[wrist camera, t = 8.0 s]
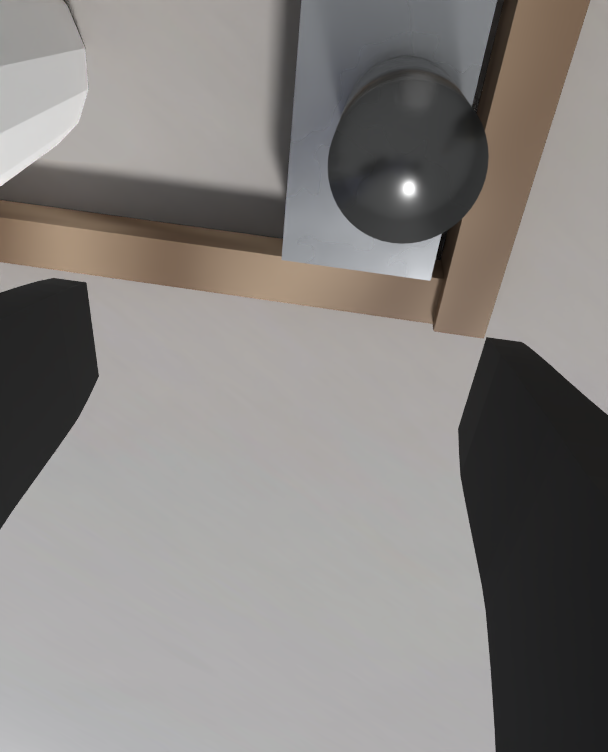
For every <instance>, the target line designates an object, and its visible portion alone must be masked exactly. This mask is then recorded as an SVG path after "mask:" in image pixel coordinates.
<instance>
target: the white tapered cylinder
mask: <svg viewBox="0 0 608 752" xmlns="http://www.w3.org/2000/svg"><path fill="white" fill-rule="evenodd" d="M88 90H89V86H88V74H87V63H86V51H85V46H84V44H83V42H82V39H81V37H80V34H79V32H78V30H77V27H76V25H75V22H74V20H73V18H72V15H71V13H70V10H69V8H68V6H67V4H66V3H65V2H64V1H63V0H0V186H2V185H3V184H4V183H6V182H7V181H9V180H10V179H11V178H13V177H14V176H15V175H17V174H18V173H19V172H21V171H22V170H24V169H25V168H26V167H28V166H29V165H30V164H32V163H33V162H35V161H36V160H37V159H39V158H40V157H41V156H43V155H44V154H45V153H47V152H48V151H50V150H51V149H52V148H54V147H55V146H56V145H58V144H59V143H60V142H61V141H62V140H63V139H64V138H65V136H66V135H67V134H68V133H69V132H70V131H71V130H72V129H73V128H74V127H75V126H76V125H77V124H78V123H79V120H80V117H81V114H82V110H83V107H84V103H85V100H86V97H87V93H88Z"/></svg>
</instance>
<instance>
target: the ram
mask: <svg viewBox="0 0 608 752" xmlns="http://www.w3.org/2000/svg"><path fill="white" fill-rule="evenodd" d="M496 3H497V0H301V13H300V26H299V39H298V52H297V65H296V78H295V91H294V104H293V117H292V130H291V143H290V156H289V169H288V182H287V195H286V208H285V221H284V234H283V246H282V259H281V260H285V261H292V262H299V263H306V264H314V265H321V266H328V267H335V268H342V269H349V270H357V271H364V272H371V273H378V274H385V275H393V276H400V277H407V278H414V279H421V280H428V281H430V280H431V276H432V272H433V268H434V263H435V259H436V255H437V251H438V247H439V242H440V238H441V234H442V233H444V232H445V231H447V230H449V229H450V228H451V227H453V226H454V225H455V224H457V223H458V222H459V221H460V220H461V219H462V218H463V217H464V216H465V215H466V214H467V213H468V211H469V210H470V209H471V208H472V206H473V205H474V203H475V202H476V200H477V198H478V196H479V194H480V192H481V190H482V188H483V185H484V182H485V179H486V174H487V170H488V159H489V153H488V143H487V138H486V134H485V131H484V128H483V125H482V123H481V121H480V119H479V117H478V115H477V113H476V112H475V111H474V109H473V108H472V104H473V100H474V96H475V91H476V87H477V83H478V79H479V75H480V70H481V66H482V62H483V58H484V54H485V49H486V45H487V41H488V37H489V33H490V28H491V24H492V20H493V16H494V12H495V7H496Z"/></svg>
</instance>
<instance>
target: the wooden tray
mask: <svg viewBox="0 0 608 752" xmlns="http://www.w3.org/2000/svg"><path fill="white" fill-rule="evenodd" d="M589 3H590V0H504V3H503V7H502V11H501V15H500V19H499V23H498V27H497V31H496V35H495V39H494V44H493V48H492V52H491V56H490V60H489V64H488V68H487V72H486V76H485V80H484V85H483V89H482V93H481V97H480V101H479V105H478V109H477V115H478V117H479V119H480V121H481V123H482V125H483V128H484V131H485V134H486V138H487V143H488V153H489V159H488V170H487V174H486V179H485V182H484V185H483V188H482V190H481V192H480V194H479V196H478V198H477V200H476V202H475V203H474V205H473V206H472V208H471V209H470V210H469V211H468V213H467V214H466V215H465V216H464V217H463V218H462V219H461V220H460V221H459V222H458V223H457V224H455V225H454V226H453V227H451V228H450V229H449V230H448V232H447V236H446V240H445V245H444V249H443V253H442V257H441V261H440V260H435V263H434V268H433V272H432V276H431V280H430V281H428V280H421V279H414V278H407V277H400V276H393V275H385V274H378V273H371V272H364V271H357V270H349V269H342V268H335V267H328V266H321V265H314V264H306V263H299V262H292V261H285V260H281V259H282V246H283V239H280V238H273V237H266V236H259V235H251V234H244V233H237V232H230V231H222V230H215V229H208V228H200V227H193V226H186V225H179V224H171V223H164V222H157V221H150V220H142V219H135V218H128V217H120V216H113V215H106V214H99V213H91V212H84V211H77V210H70V209H62V208H55V207H48V206H41V205H33V204H26V203H19V202H11V201H4V200H0V262H4V263H11V264H18V265H25V266H32V267H39V268H46V269H53V270H60V271H67V272H74V273H81V274H88V275H95V276H102V277H109V278H116V279H123V280H130V281H137V282H144V283H151V284H158V285H165V286H172V287H179V288H186V289H193V290H200V291H207V292H214V293H221V294H228V295H235V296H242V297H249V298H256V299H263V300H270V301H277V302H284V303H291V304H298V305H305V306H312V307H319V308H326V309H333V310H340V311H347V312H353V313H360V314H367V315H374V316H381V317H388V318H395V319H402V320H409V321H416V322H423V323H430V324H433V330H434V331H435V332H442V333H449V334H456V335H463V336H470V337H477V338H484V336H485V333H486V330H487V327H488V324H489V320H490V317H491V314H492V311H493V308H494V305H495V301H496V298H497V295H498V292H499V289H500V285H501V282H502V279H503V276H504V273H505V270H506V266H507V263H508V260H509V257H510V254H511V251H512V247H513V244H514V241H515V238H516V235H517V231H518V228H519V225H520V222H521V219H522V216H523V212H524V209H525V206H526V203H527V200H528V197H529V193H530V190H531V187H532V184H533V181H534V177H535V174H536V171H537V168H538V165H539V162H540V158H541V155H542V152H543V149H544V146H545V143H546V139H547V136H548V133H549V130H550V127H551V123H552V120H553V117H554V114H555V111H556V108H557V104H558V101H559V98H560V95H561V92H562V89H563V85H564V82H565V79H566V76H567V73H568V69H569V66H570V63H571V60H572V57H573V54H574V50H575V47H576V44H577V41H578V38H579V34H580V31H581V28H582V25H583V22H584V19H585V15H586V12H587V9H588V6H589Z"/></svg>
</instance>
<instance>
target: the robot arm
mask: <svg viewBox="0 0 608 752" xmlns="http://www.w3.org/2000/svg"><path fill="white" fill-rule="evenodd" d="M98 377H99V375H98V367H97V359H96V352H95V344H94V337H93V329H92V322H91V314H90V307H89V299H88V291H87V284H86V282H78V281H71V280H64V279H56V278H52V279H47V280H42V281H37V282H34V283H30V284H27V285H23V286H20V287H17V288H14V289H11V290H8V291H4V292H1V293H0V529H1V527H2V526H3V524H4V523H5V521H6V520H7V518H8V517H9V515H10V514H11V512H12V511H13V509H14V508H15V506H16V505H17V504H18V502H19V501H20V499H21V498H22V497H23V495H24V494H25V493H26V491H27V490H28V488H29V487H30V486H31V484H32V483H33V481H34V480H35V479H36V477H37V476H38V474H39V473H40V472H41V470H42V469H43V467H44V466H45V465H46V463H47V462H48V461H49V459H50V458H51V456H52V455H53V454H54V452H55V451H56V449H57V448H58V447H59V445H60V444H61V442H62V441H63V439H64V438H65V437H66V435H67V434H68V432H69V431H70V429H71V428H72V426H73V425H74V424H75V422H76V421H77V419H78V417H79V415H80V413H81V412H82V410H83V408H84V406H85V404H86V402H87V400H88V398H89V396H90V394H91V392H92V390H93V388H94V385H95V383H96V381H97V379H98ZM458 433H459V458H460V475H461V481H462V486H463V492H464V497H465V502H466V508H467V513H468V518H469V523H470V528H471V533H472V538H473V543H474V548H475V553H476V558H477V563H478V568H479V573H480V578H481V583H482V589H483V596H484V602H485V609H486V619H487V631H488V642H489V654H490V666H491V680H492V695H493V710H494V726H495V745H496V752H608V415H607V414H606V413H605V412H603V411H602V410H601V409H600V408H599V407H597V406H596V405H595V404H594V403H593V402H591V401H590V400H589V399H588V398H587V397H586V396H585V395H583V394H582V393H581V392H580V391H579V390H578V389H577V388H575V387H574V386H573V385H572V384H571V383H570V382H569V381H568V380H566V379H565V378H564V377H563V376H562V375H561V374H560V373H559V372H557V371H556V370H555V369H554V368H553V367H552V366H551V365H550V364H548V363H547V362H546V361H545V360H544V359H543V358H542V357H540V356H539V355H538V354H537V353H536V352H534V351H533V350H532V349H531V348H529V347H528V346H527V345H525V344H524V343H522V342H517V341H510V340H502V339H495V338H488V337H487V338H486V341H485V344H484V347H483V351H482V354H481V357H480V360H479V363H478V367H477V370H476V373H475V376H474V380H473V383H472V386H471V389H470V392H469V396H468V399H467V402H466V405H465V409H464V412H463V415H462V418H461V421H460V425H459V428H458Z"/></svg>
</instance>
